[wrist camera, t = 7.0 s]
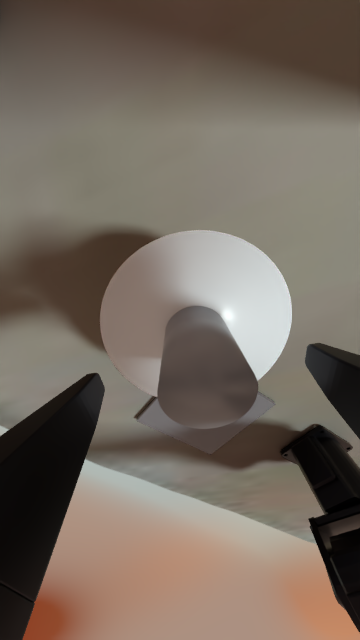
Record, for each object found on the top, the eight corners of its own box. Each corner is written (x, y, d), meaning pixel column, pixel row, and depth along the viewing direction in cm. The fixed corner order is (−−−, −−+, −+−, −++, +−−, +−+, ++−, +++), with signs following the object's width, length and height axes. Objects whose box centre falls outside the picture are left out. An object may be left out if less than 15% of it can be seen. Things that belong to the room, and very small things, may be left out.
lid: (322, 310, 11) (436, 367, 6) (205, 414, 14) (220, 502, 10) (174, 176, 8) (170, 86, 3) (75, 345, 12) (3, 419, 7)
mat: (273, 401, 20) (275, 404, 20) (210, 451, 24) (210, 454, 23) (196, 352, 17) (196, 355, 17) (137, 417, 21) (136, 420, 21)
